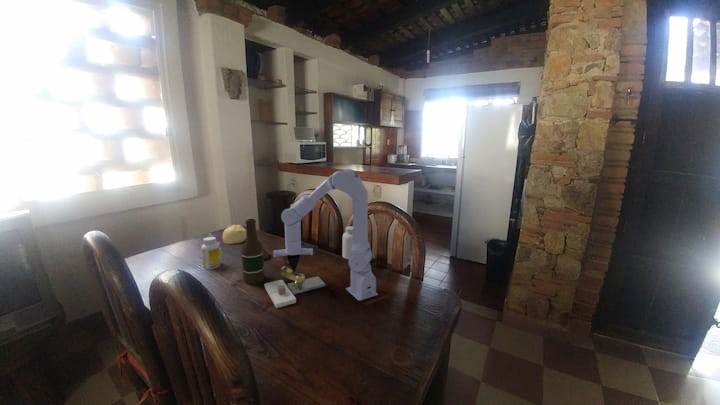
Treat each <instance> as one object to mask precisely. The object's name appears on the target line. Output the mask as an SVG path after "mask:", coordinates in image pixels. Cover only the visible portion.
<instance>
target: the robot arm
mask: <svg viewBox="0 0 720 405" xmlns="http://www.w3.org/2000/svg"><path fill="white" fill-rule="evenodd" d="M336 189H337V190H338V191H340V192H342V193H345V194H346V195H348V196H349V197H350V199H352V203H351V204H352V226H353V246H352V249H351V256H350V258H349V259H348V266H349V268H350V286H349V287H346V288H345V290H346V291H347V292H348V293H350V294H351V295H352V296H353V297H354V298H355V299H356V300H357V301H363V300H366V299H369V298H373V297H376V296H379V294H378V292H377V278H376V276H375V275H374V274H373V272H372V267H371V263H370V262H371V261H372V259H373V252H372V249H371V244H370V242H369V241H368V240H369V237H368V236H369V235H368V234H369V231H368V229H369V228H368V226H369V223H368V222H369V221H368V220H369V219H368V217H369V215H368V210H369V209H368V208H369V207H368V204H369V203H368V202H369V201H368V198H369V197H368V190H367V188H366V186H365V184H364V183H363V181H362V180H361V176H360V174H359V173H357V172H356V171H355V170H353V169H352V168H351V169H350V168H347V169H345V170H344V169H343V170H337V171H335V172H334V173H332V174H331V175H329V176H328V177H327V178H326V179H325V180H324V181H322V182H321V183H320V184H319V185H318V186H317V187H316V188H315V189H314V190H313V191H312V192H311V193H310V194H304V195H303V194H302V195H300V196H298V200H296V201H295V202H294V203H291V204H290V207H289V208H286V209H284V210H283V211H282V212H281V215H280V218H281V222H283V224H284V242H285V244H284V245H285V248H283V249H277V250H276V249H275V250H273V258H277V257H282V256H287V261H288V263H289V265H290V267H291V270H293V271H295V272H296V269H297V267H298V263H299V261H300V258H301V256H303V255H304V256H306V255H309V256H314V251H313V248H312V249H309V248H301V241H302V237H301V236H302V233H301V231H302V230H301V225H302V224H301V223H302V222H301V221H302V220H303V218H304V217H305V216H306V215H308V213H309V212H311V211H312V210H313V209H314V208H315V207H316V203H317V201H319V199H321V198H323V197H324V196H325V195H326V194H327V193H329V192H330V191H331V190H332V191H333V190H336Z"/></svg>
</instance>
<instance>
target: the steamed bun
mask: <svg viewBox="0 0 720 405" xmlns="http://www.w3.org/2000/svg"><path fill="white" fill-rule="evenodd" d="M222 241H223V243H224V244H225V245H226V244H227V245H228V244H229V245H236V244H240V243H243V242H246V228H245V227H244V226H243V225H241V224H232V225H231V226H227V228H225V229H224V231H223V232H222ZM235 243H236V244H235Z"/></svg>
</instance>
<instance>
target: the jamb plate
mask: <svg viewBox="0 0 720 405" xmlns="http://www.w3.org/2000/svg"><path fill="white" fill-rule="evenodd" d="M287 287H288V288H289V290H290V291H291V292H292V294H293V295H297V294H301V293H305V292H308V291H312V290H316V289H319V288H323V287H326V283H325V282H324V281H323V280H322V279H321V278H320V277H319V276H318V275H317V276H313V277H310V278H309V277H308V278H305V282H304V283H302V284H296V283H295V281H292V282H290V283H287Z"/></svg>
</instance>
